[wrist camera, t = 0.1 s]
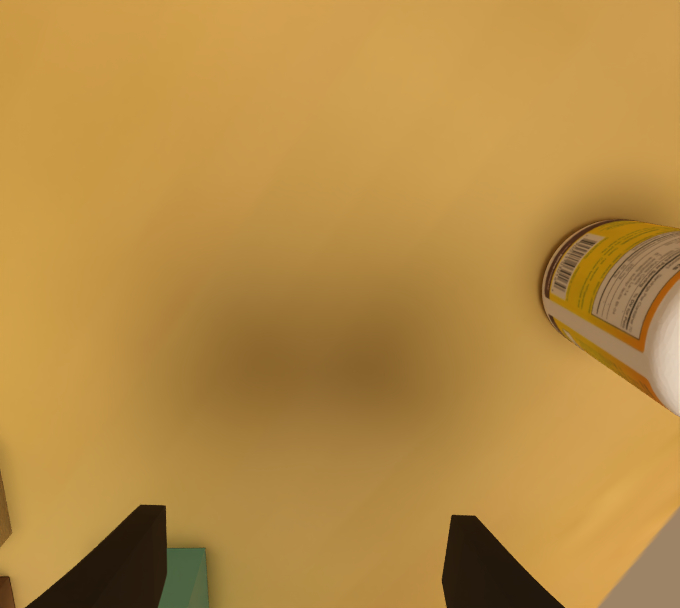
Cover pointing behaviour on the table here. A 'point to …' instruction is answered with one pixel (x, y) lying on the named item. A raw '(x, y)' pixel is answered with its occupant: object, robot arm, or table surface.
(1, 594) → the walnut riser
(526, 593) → the robot arm
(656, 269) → the supplement bottle
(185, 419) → the table surface
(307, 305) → the table surface
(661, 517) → the table surface
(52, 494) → the table surface
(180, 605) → the teal cube
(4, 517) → the steel cube
